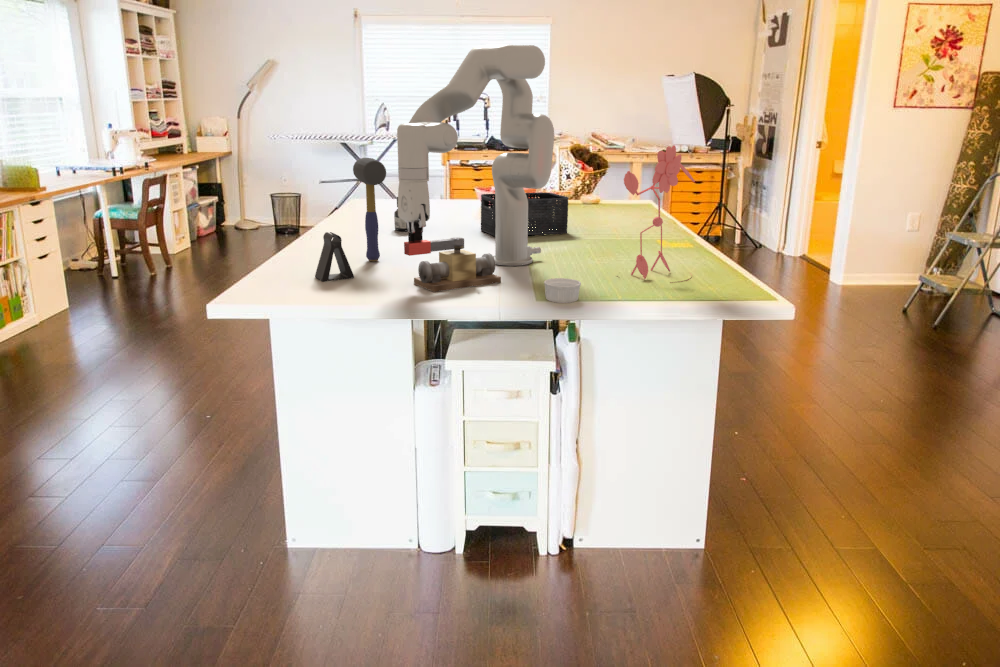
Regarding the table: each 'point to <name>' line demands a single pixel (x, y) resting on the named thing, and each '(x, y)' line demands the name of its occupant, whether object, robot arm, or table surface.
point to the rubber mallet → (370, 200)
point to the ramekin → (562, 290)
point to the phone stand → (326, 260)
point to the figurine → (665, 177)
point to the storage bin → (532, 213)
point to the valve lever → (432, 246)
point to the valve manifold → (457, 271)
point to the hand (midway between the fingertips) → (415, 247)
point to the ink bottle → (399, 221)
